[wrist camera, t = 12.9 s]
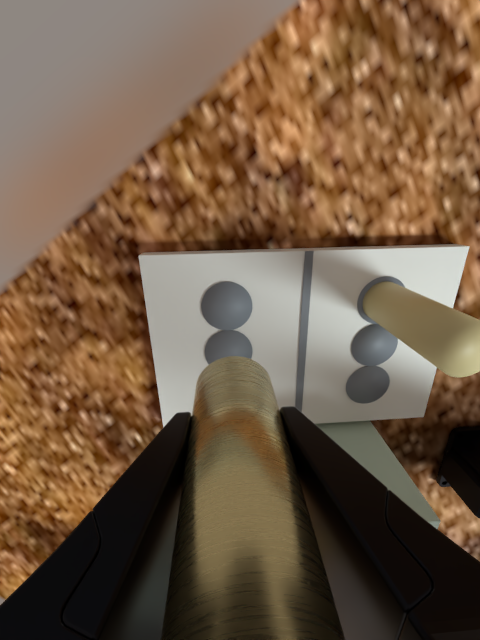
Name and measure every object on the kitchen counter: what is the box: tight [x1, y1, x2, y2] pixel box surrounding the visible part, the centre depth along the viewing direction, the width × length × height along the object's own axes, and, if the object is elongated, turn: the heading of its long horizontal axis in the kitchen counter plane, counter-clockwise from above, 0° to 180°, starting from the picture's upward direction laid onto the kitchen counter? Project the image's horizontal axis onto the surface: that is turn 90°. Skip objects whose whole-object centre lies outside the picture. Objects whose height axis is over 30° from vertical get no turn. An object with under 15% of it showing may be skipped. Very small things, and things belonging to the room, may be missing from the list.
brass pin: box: [161, 356, 345, 640], centre depth 7 cm, size 3×3×7 cm
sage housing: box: [315, 420, 440, 529], centre depth 21 cm, size 6×11×8 cm, turn 1°
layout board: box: [139, 244, 480, 428], centre depth 17 cm, size 20×13×8 cm, turn 91°
